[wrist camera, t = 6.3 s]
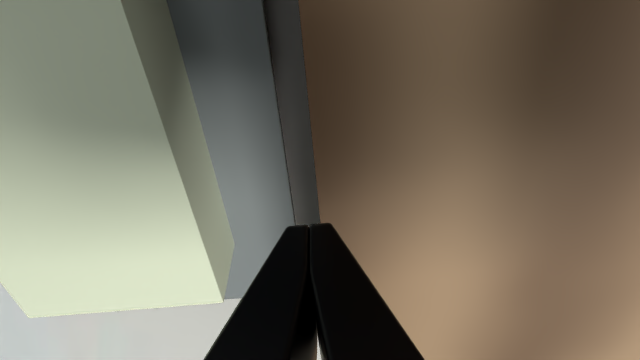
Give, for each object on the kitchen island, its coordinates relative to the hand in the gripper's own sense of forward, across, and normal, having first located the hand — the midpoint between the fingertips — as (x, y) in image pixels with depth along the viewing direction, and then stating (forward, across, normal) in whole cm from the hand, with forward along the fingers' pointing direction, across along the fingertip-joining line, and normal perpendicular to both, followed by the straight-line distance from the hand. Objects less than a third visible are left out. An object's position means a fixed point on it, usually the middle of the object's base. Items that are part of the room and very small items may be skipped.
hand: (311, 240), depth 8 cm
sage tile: (+2, +6, 0) cm, 6 cm away
